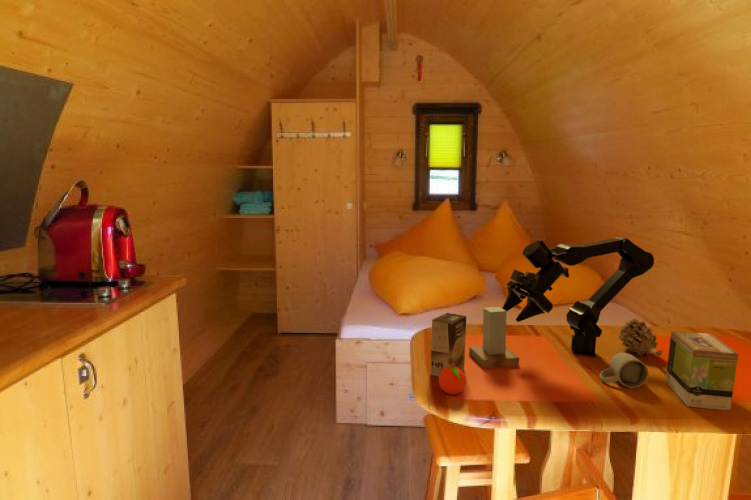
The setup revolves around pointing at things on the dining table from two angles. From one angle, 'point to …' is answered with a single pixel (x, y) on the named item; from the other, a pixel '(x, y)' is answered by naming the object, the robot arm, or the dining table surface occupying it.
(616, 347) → the dining table surface
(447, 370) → the red tomato
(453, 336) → the coffee box
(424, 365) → the dining table surface
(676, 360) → the tea box
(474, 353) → the walnut slab
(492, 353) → the wooden block
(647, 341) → the pine cone
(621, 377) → the ceramic mug
